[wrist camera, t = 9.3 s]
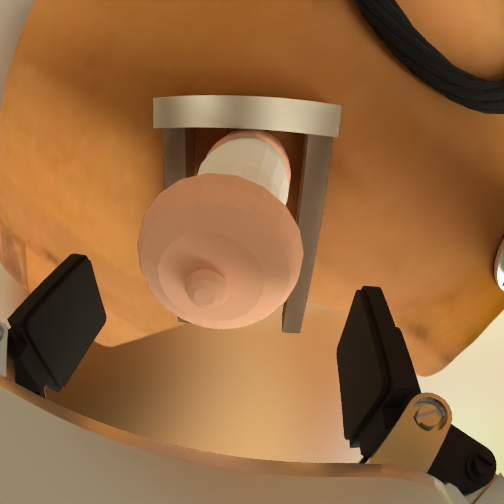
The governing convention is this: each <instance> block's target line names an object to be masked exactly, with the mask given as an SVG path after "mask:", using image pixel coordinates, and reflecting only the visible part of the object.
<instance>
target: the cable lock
mask: <svg viewBox="0 0 504 504" xmlns="http://www.w3.org/2000/svg"><path fill="white" fill-rule="evenodd" d="M355 1H356V3H357V5H358V6H359V8H360V10H361V13H362V15H363V17H364V18H365V19H366V21H367V22H368V23H369V25H370V26H371V27H372V29H373V30H374V31H375V33H376V34H377V35H378V36H379V38H380V39H381V40H382V41H383V42H384V43H385V44H386V45H387V47H388V48H389V49H390V50H391V51H392V52H393V54H394V55H395V56H396V57H397V58H398V59H399V60H400V61H401V62H402V63H403V64H404V65H405V66H406V67H407V68H408V69H409V70H410V71H411V72H412V73H413V74H414V75H416V76H417V77H418V78H420V79H421V80H422V81H423V82H425V83H426V84H428V85H429V86H431V87H432V88H434V89H435V90H437V91H439V92H440V93H442V94H443V95H445V96H446V97H447V98H448V99H450V100H452V101H454V102H456V103H459V104H461V105H463V106H465V107H467V108H469V109H473V110H476V111H479V112H483V113H490V114H504V80H501V81H486V80H483V79H480V78H477V77H475V76H473V75H471V74H469V73H467V72H465V71H463V70H461V69H459V68H457V67H455V66H454V65H452V64H451V63H450V62H449V61H448V60H447V59H446V58H445V57H444V56H443V55H442V54H441V53H440V52H439V51H438V50H436V49H435V48H434V47H433V46H432V45H431V44H430V43H429V42H427V40H426V39H425V38H424V37H423V36H422V35H421V34H420V33H419V32H418V31H417V30H416V29H415V28H414V27H413V26H412V24H411V23H410V21H409V20H408V18H407V17H406V15H405V14H404V12H403V11H402V10H401V8H400V7H399V5H398V4H397V3H396V1H395V0H355Z"/></svg>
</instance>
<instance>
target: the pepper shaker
mask: <svg viewBox="0 0 504 504" xmlns="http://www.w3.org/2000/svg"><path fill="white" fill-rule="evenodd" d="M290 177H291V170H290V165H289V160H288V156H287V152H286V150H285V148H284V147H283V145H282V143H281V142H280V141H279V140H278V139H277V138H276V137H274V136H273V135H272V134H271V133H269V132H266V131H264V130H261V129H243V128H242V129H238V130H234V131H232V132H231V133H229V134H227V135H226V136H224V137H223V138H221V139H220V140H219V141H217V142H216V144H215V145H214V146H213V147H212V148H211V150H210V151H209V152H208V154H207V157H206V159H205V160H204V161H203V162H202V164H201V165H200V168H199V171H198V174H197V176H193V177H189V178H185V179H181V180H179V181H177V182H176V183H174V184H173V185H171V186H170V187H168V188H167V189H166V190H164V191H163V192H161V193H160V194H158V196H157V197H156V199H155V200H154V201H153V203H152V204H151V206H150V207H149V209H148V210H147V212H146V213H145V216H144V219H143V222H142V226H141V230H140V234H139V239H138V243H137V247H138V255H139V263H140V268H141V270H142V273H143V275H144V278H145V280H146V282H147V284H148V286H149V288H150V290H151V292H152V293H153V295H154V296H155V297H156V298H157V299H158V300H159V301H160V302H161V304H162V305H163V306H164V307H165V308H166V309H168V310H169V311H171V312H172V313H174V314H175V315H177V316H178V317H180V318H181V319H183V320H186V321H188V322H191V323H193V324H196V325H199V326H201V327H208V328H215V329H232V328H241V327H245V326H247V325H250V324H252V323H255V322H258V321H260V320H262V319H264V318H265V317H267V316H268V315H269V314H271V313H272V312H273V311H274V310H276V309H277V308H278V307H280V306H281V305H282V304H283V303H285V301H286V300H287V298H288V296H289V295H290V293H291V292H292V290H293V288H294V287H295V285H296V283H297V280H298V278H299V274H300V269H301V264H302V259H303V254H304V252H303V246H302V241H301V235H300V229H299V227H298V226H297V224H296V222H295V221H294V219H293V217H292V215H291V214H290V212H289V210H288V209H287V207H286V206H285V205H286V202H287V199H288V191H289V185H290Z"/></svg>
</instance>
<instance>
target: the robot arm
mask: <svg viewBox="0 0 504 504" xmlns="http://www.w3.org/2000/svg"><path fill="white" fill-rule="evenodd" d="M494 277H495V281H496V283H497V285H498V286H499V287H500V288H501V289H502V290H503V291H504V239H503V240H502V242H501V245H500V247H499V249H498V252H497V256H496V259H495V265H494ZM8 322H9V324H10V326H11V328H10V329H8V328H7V326H6V324H4V323H2V322H0V504H504V477H503V476H502V474H501V473H499V474H498V475H496V473H495V472H496V460H495V457H494V455H493V453H492V452H491V451H490V450H489V449H488V448H487V447H485V446H484V445H482V444H480V443H479V442H477V441H476V440H474V439H473V438H471V437H470V436H468V435H467V434H465V433H464V432H462V431H461V430H459V429H458V428H456V427H455V426H453V425H452V424H451V421H452V412H451V409H450V407H449V405H448V404H447V402H446V401H445V400H444V399H443V398H441V397H440V396H438V395H435V394H433V393H421V391H420V387H419V384H418V380H417V377H416V374H415V371H414V368H413V364H412V361H411V358H410V355H409V352H408V349H407V346H406V344H405V341H404V338H403V335H402V332H401V330H400V329H399V328H398V327H395V324H394V321H393V318H392V316H391V313H390V310H389V308H388V305H387V302H386V300H385V297H384V295H383V292H382V290H381V288H380V287H373V286H363V287H362V289H361V290H357V291H356V293H355V296H354V299H353V302H352V305H351V308H350V312H349V315H348V318H347V321H346V324H345V327H344V330H343V333H342V335H341V338H340V341H339V344H338V347H337V364H338V373H339V382H340V392H341V402H342V414H343V427H344V437H345V439H346V440H350V448H355V447H356V448H357V447H360V450H361V455H363V457H362V458H361V459H360V460H359V462H358V463H301V462H284V461H272V460H260V459H251V458H242V457H235V456H227V455H221V454H215V453H209V452H204V451H199V450H193V449H189V448H184V447H180V446H176V445H172V444H168V443H164V442H160V441H156V440H152V439H149V438H145V437H142V436H139V435H135V434H132V433H129V432H126V431H123V430H120V429H116V428H114V427H111V426H108V425H106V424H103V423H100V422H97V421H95V420H92V419H90V418H87V417H85V416H82V415H80V414H78V413H75V412H73V411H71V410H68V409H66V408H64V407H62V406H60V405H57V404H55V403H53V402H51V401H49V400H47V399H46V397H45V390H44V387H45V385H47V386H48V387H49V388H50V389H52V390H54V391H56V392H60V390H61V389H62V387H63V386H66V384H67V383H68V381H69V380H70V378H71V376H72V374H73V373H74V371H75V370H76V368H77V366H78V365H79V363H80V361H81V360H82V358H83V357H84V355H85V353H86V352H87V350H88V349H89V347H90V345H91V344H92V342H93V341H94V339H95V338H96V336H97V335H98V333H99V332H100V330H101V329H102V327H103V326H104V324H105V322H106V313H105V310H104V307H103V303H102V300H101V297H100V293H99V290H98V286H97V283H96V279H95V275H94V272H93V268H92V264H91V261H90V260H88V257H87V256H85V255H81V254H71V255H70V256H69V257H68V258H66V259H65V260H64V261H63V262H62V263H61V264H60V265H59V266H58V267H57V268H56V269H55V270H54V271H53V272H52V273H51V274H50V275H49V276H48V277H47V278H46V279H45V280H44V281H43V282H42V283H41V284H40V285H39V286H38V287H37V288H36V289H35V290H34V291H33V292H32V293H31V294H30V295H29V296H28V297H27V298H26V300H24V302H23V303H22V304H21V305H20V306H19V307H18V308H17V309H16V310H15V311H14V313H13V314H12V315H11V316H10V317H9V318H8Z"/></svg>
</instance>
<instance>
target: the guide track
mask: <svg viewBox="0 0 504 504" xmlns="http://www.w3.org/2000/svg"><path fill="white" fill-rule="evenodd" d="M341 107H342V105H336V104H329V103H322V102H315V101H307V100H298V99H287V98H275V97H260V96H237V95H194V96H170V97H156V98H153V128H163V165H164V186H165V190H166V189H167V188H168V187H170V186H171V185H173V184H174V183H176V182H177V181H179V180H181V179H185V178H189V177H193V176H194V127H209V128H243V129H261V130H275V131H286V132H297V133H305V135H304V146H303V156H302V166H301V175H300V185H299V193H298V202H297V211H296V219H295V222H296V224H297V226H298V227H299V229H300V235H301V241H302V246H303V252H304V254H303V259H302V264H301V269H300V274H299V278H298V280H297V283H296V285H295V287H294V288H293V290H292V292H291V293H290V295H289V296H288V298H287V300H286V301H285V303H284V307H283V313H282V332H287V333H300V330H301V325H302V321H303V316H304V311H305V307H306V302H307V297H308V292H309V287H310V282H311V277H312V272H313V266H314V261H315V255H316V250H317V244H318V238H319V232H320V226H321V220H322V214H323V208H324V201H325V194H326V187H327V180H328V173H329V165H330V158H331V149H332V141H333V137H337V138H338V135H339V126H340V117H341ZM178 322H186V323H191V322H188V321H186V320H183V319H181V318H180V317H178Z"/></svg>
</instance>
